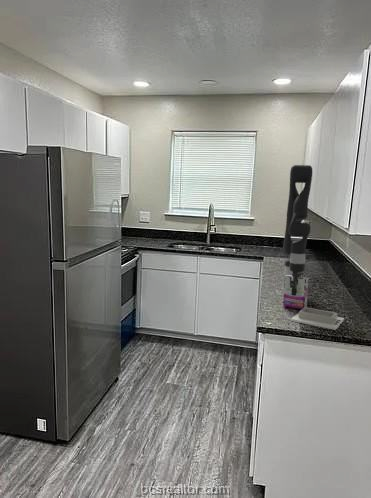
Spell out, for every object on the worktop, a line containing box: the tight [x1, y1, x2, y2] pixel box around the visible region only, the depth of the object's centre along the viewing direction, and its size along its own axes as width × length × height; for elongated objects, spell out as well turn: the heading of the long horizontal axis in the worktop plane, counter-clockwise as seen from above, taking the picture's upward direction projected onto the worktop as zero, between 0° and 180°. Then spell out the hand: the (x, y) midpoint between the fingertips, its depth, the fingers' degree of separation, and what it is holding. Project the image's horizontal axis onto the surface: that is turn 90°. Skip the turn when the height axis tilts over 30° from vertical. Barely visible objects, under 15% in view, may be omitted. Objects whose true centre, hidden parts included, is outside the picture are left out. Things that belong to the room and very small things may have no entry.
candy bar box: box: [283, 275, 309, 310], centre depth 192 cm, size 11×5×16 cm, turn 56°
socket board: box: [290, 306, 345, 331], centre depth 174 cm, size 16×20×4 cm
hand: (295, 293), depth 192 cm, fingers closed on candy bar box, 5 cm apart
